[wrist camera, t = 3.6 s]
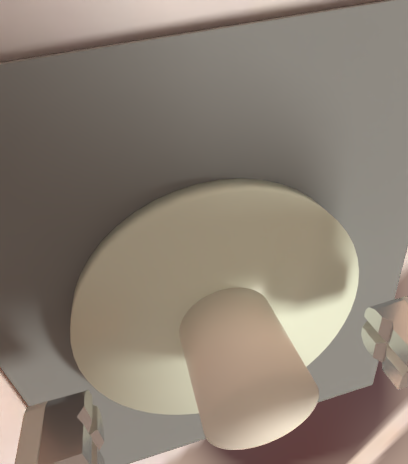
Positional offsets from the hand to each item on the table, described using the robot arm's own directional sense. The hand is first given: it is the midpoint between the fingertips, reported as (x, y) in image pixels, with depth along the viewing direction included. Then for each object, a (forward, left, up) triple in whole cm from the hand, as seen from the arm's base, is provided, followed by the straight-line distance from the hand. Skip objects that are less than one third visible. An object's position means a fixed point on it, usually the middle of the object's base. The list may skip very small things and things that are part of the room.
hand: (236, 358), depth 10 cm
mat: (0, 0, -2) cm, 3 cm away
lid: (0, 0, -2) cm, 2 cm away
